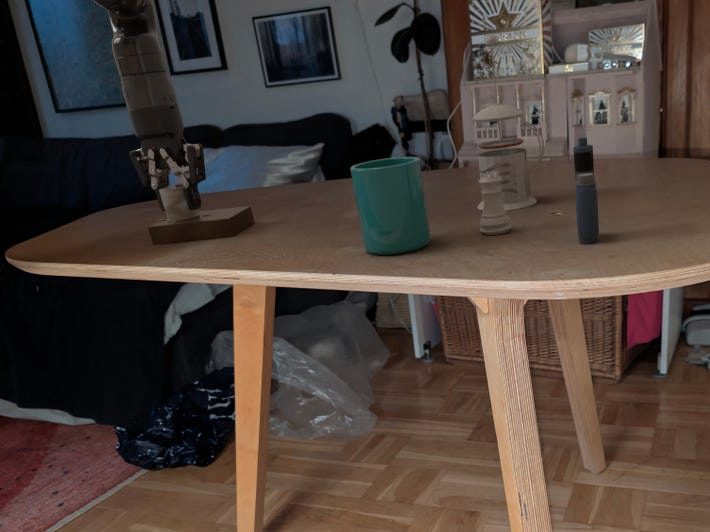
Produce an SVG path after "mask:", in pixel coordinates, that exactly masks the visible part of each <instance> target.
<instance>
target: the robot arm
mask: <svg viewBox="0 0 710 532" xmlns="http://www.w3.org/2000/svg"><path fill="white" fill-rule="evenodd" d="M91 1H92V2H94V3H95V4H96V5H98V6H99V7H101V8H102V9H104V10H105V11H107V15H108V17H109V21H110V26H111V29H112V34H113V37H112V39H111V49H112V54H113V57H114V61H115V64H116V68H117V71H118V74H119V78H120V82H121V90H122V94H123V97H124V101H125V105H126V109H127V111H128V115H129V118H130V121H131V124H132V128H133V131H134V134H135V137H136V138H137V139H140V142H141V144H140V145H141V146H140V148H138V149H135V150H129V151H128V155H129V158H130V160H131V162H132V164H133V167H134V169H135V171H136V173H137V175H138V177H139V180H140V182H141V184H142V185H143V187H150V188H151V189H152V190H154V192H155V195H156V199H157V202H158V206H159V208H160V209H161V211H162V212H165V209H164V205H163V202H162V199H161V195H160V192H159V189H161V188H164V187H168V176H169V174H170V173H171V172H172V173H173V175H174V176H176V177H177V178H178V179H179V181H180V184H183V186H184V187H186V188H183V189H184V193H185V197H186V200H187V204H188V207H189V209H190V210H196V209H198V210H200V209H201V207H202V198H201V194H200V191H199V187H198V185H199V184H200V183H201V182H203V181H206V179H207V176H206V175H207V173H206V165H205V164H206V163H205V154H204V153H205V152H204V146H203V145H202V143H194V144H192V143H188V142H187V141H186V139H185V137H184V135H183V132H184V131H185V126H184V125H185V124H184V122H183V119H182V115H181V111H180V107H179V103H178V100H177V96H176V93H175V88H174V85H173V83H172V81H171V78H170V76H169V73H168V69H167V66H166V65H167V64H166V62H165V57H164V53H163V51H162V47H161V45H160V43H159V41H160V40H159V38H158V30H157V22H156V16H155V11H154V4H153V1H152V0H91ZM170 171H171V172H170Z"/></svg>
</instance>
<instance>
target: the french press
mask: <svg viewBox="0 0 710 532" xmlns="http://www.w3.org/2000/svg"><path fill="white" fill-rule="evenodd" d="M496 44H498V38H497V36H495V35H487V37H486V38H485V39H484V45H488V46H489V45H490V51H491V63H492V64H491V65H492V72H493V83H494V84H493V85H494V93H495V103H494V104H493V105H491V106H488V107H484V108H483V109H481V110H479V111H478V112H477V113H476V114H475V115H474V116H473V117H472V118H471V120H472V121H473V123H493V122H497V123H498V134H499V139H494V140H487V141H483V142H480V143H479V144H478V148H479V149H482V150H488V151H483V152H481V153H479V154H477V159H478V161H477V162H478V171H479V177H480V178H481V176H480V174H481V173H484V174H486V172H489V174H492V171H496V172H497V171H499V173H501V174H499V175H500V176H501V178H502V181H501V182H500V189H501V190H502V191H501V199H502V203H503V207H504V210H505V211H513V210H519V209H523V208H527V207H531V206H533V205H534V204H536V203H537V201H538V200H537V199H536V198H535V197H534V196H532V190H531V178H530V177H531V176H530V173H531V171H533V170H534V169H536V168H537V167H538V166H539V165H540V164H541V163H542V160H543V158H544V153H545V139H544V138H543V135H542V133H541V131H540V129H539V128H538V127H537V126H535V125H534V124H532V123H531V122H529V121H525V122H523V123H521V125H520V132H521V133H522V134H524V133H526V131H527V130H526V129H527V128H529V129H530V130H532V131H533V133H534V134H535V136H536V138H537V141H538V146H539V153H538V154H539V155H538V157H537V161H536V163H535V164H534V165H533V166H532V167H531V168H529V164H528V154H527V153H528V152H527V149H526V148H522V147H521V148H520V147H517V146H520V145H522V144H523V143H524V141H525V140H524V139H523V138H521V137H516V138H505V139H504V138H502V133H501V124H500V123H501V122H502V121H508V120H514V119H518V118H523V116H524V115H525V111H524V110H522V109H520V108H518V107H516V106H513V105H509V104H501V103H500V102H498V93H497V83H496V82H497V81H496V73H495V72H496V71H495V61H494V51H493V50H494V49H493V45H496ZM515 147H516V148H515ZM499 164H501V165H500V166H498V167H495V168H492V167H493V166H495V165H499ZM511 165H512V166H513V165H514V167H509V166H511ZM510 174H515V175H510ZM480 178H479V179H480ZM510 182H515V183H510ZM480 189H481V192H482V191H483V188H482V185H481V184H480ZM481 197H482V200H481V202H480V203H479V204H478V205H477V207H476V209H478V210H479V211H483V205H484V199H483V194H482V193H481Z"/></svg>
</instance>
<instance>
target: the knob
mask: <svg viewBox="0 0 710 532" xmlns="http://www.w3.org/2000/svg"><path fill="white" fill-rule="evenodd" d="M183 188H186V187H184V186H183V184H182V183H178V184H174V185H170V186H167V187H164V188H161V189H159V192H160V195H161V199H162V202H163V205H164V209H165V211H164V212H165V216H166V218H167V219H168V221H181V220H187V219H191V218H195V217H197V216H199V215H200V214H199V212H200V209H196V210H190V209H189V207H188V204H187V200H186V197H185V193H184V189H183Z"/></svg>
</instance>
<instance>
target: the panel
mask: <svg viewBox="0 0 710 532" xmlns="http://www.w3.org/2000/svg"><path fill="white" fill-rule="evenodd" d="M199 214H200V215H199V216H197V217H195V218H191V219H187V220H181V221H168V219H167V217H166V218H161V219H160V218H159V219H157V222H155V223H153V224H151V225H149V226H148V227H147V229H148V233H149V236H150V239H151V242H152V245H153V246H154V245H164V244H174V243H183V242H193V241H203V240H214V239H221V238H222V239H225V238H232V237H235V236H237V235H239V234H240V233H242V232H243V231H244V230H246V229H248V228H249V227H251V226H253V225H254V224H255V218H254V215H253V211H252V206H251V205H248V206H238V207H237V206H236V207H229V208H220V209H219V208H218V209H211V210H210V209H209V210H199Z"/></svg>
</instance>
